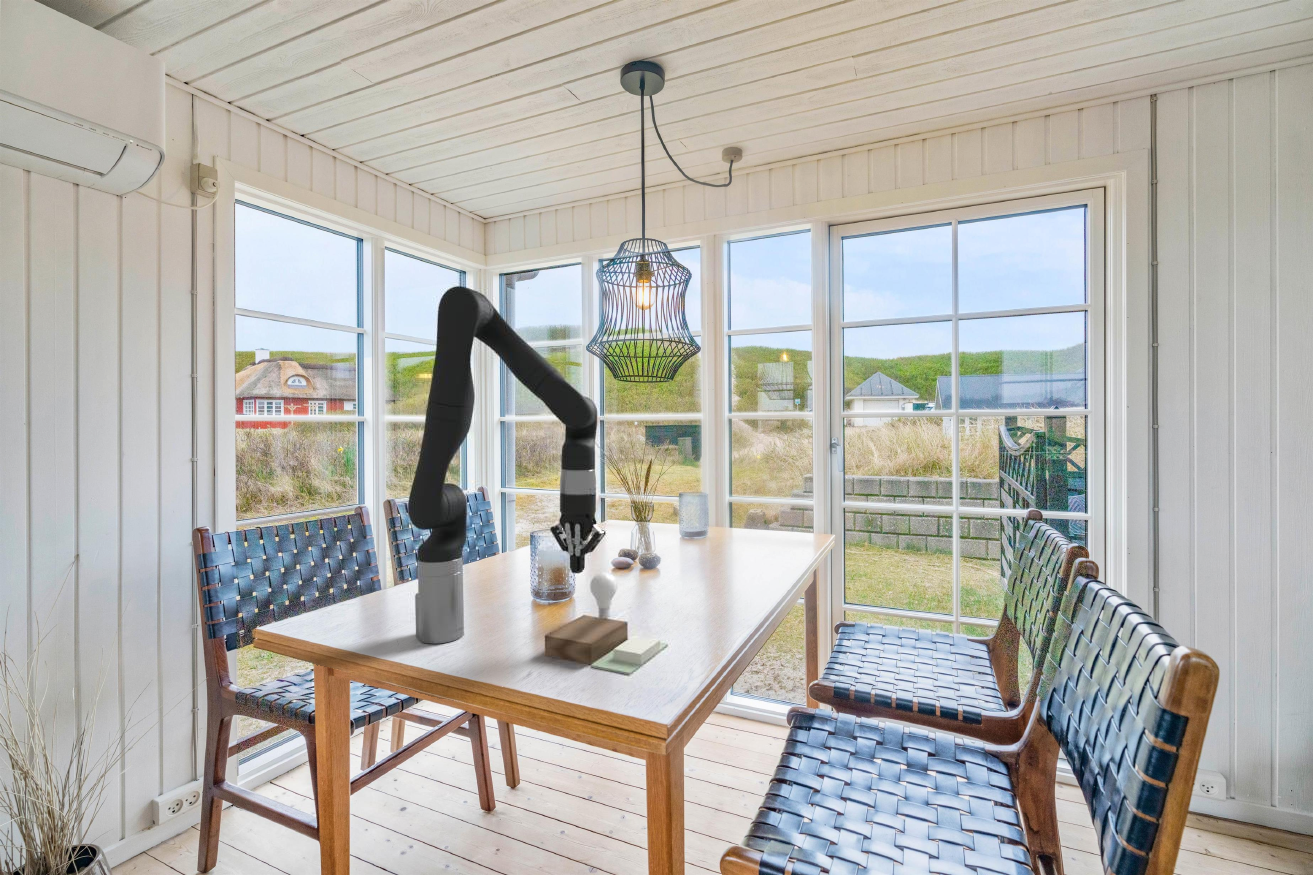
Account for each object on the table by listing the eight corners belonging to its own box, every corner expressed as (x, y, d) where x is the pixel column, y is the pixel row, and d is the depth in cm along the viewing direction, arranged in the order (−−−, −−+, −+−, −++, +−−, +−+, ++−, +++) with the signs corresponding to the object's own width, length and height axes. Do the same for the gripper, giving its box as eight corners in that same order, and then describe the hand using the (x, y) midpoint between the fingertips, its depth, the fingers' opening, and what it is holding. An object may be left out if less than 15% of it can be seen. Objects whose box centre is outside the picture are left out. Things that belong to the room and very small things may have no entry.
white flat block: (641, 653, 114) (641, 664, 114) (659, 640, 121) (659, 649, 121) (613, 648, 117) (613, 659, 117) (633, 635, 124) (633, 645, 124)
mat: (590, 666, 114) (590, 664, 114) (632, 639, 128) (632, 637, 128) (630, 674, 110) (630, 672, 110) (668, 645, 124) (668, 643, 124)
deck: (545, 655, 120) (544, 635, 120) (584, 632, 133) (583, 614, 132) (591, 664, 115) (591, 643, 115) (627, 640, 128) (627, 621, 128)
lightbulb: (623, 618, 142) (622, 572, 142) (603, 625, 137) (602, 577, 137) (605, 613, 146) (604, 568, 146) (585, 619, 142) (584, 572, 142)
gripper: (541, 490, 126) (540, 572, 127) (595, 494, 120) (594, 580, 121) (562, 486, 133) (561, 564, 133) (614, 490, 127) (613, 572, 128)
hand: (577, 572), depth 127 cm, fingers closed
